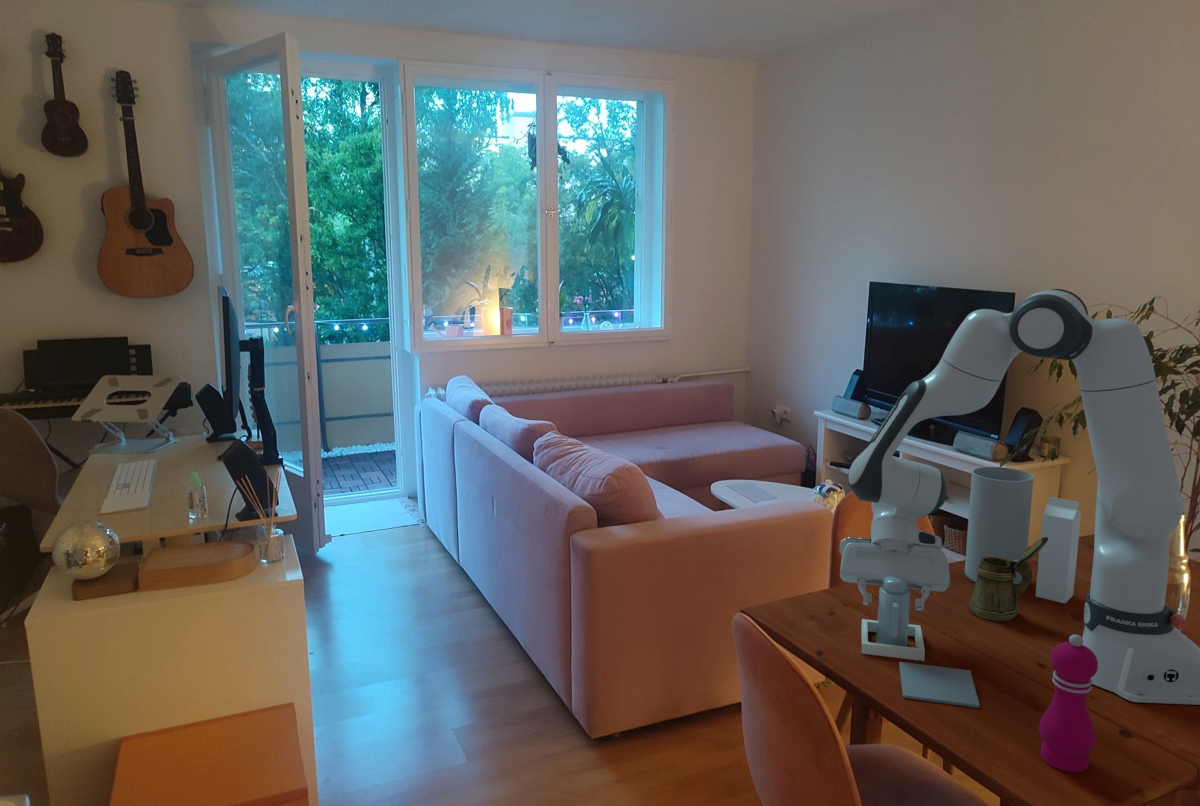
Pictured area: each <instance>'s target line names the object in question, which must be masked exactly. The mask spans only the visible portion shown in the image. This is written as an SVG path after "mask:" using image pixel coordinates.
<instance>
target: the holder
mask: <svg viewBox="0 0 1200 806" xmlns="http://www.w3.org/2000/svg"><path fill="white" fill-rule="evenodd" d="M877 622H878V620H874V619H866V618H865V619H864V618H862V619H861V654H863V655H872V656H877V657H878V656H880V657H888V658H895V659H896V658H897V659H902V660H903V659H904V660H913V661H919V660H921V662H925V653H926V650H925V644H924V640H923V631H922V628H921V627H922V626H921V625H919V624H909V623H908V637H914V640H915V641H916V642H915V647H914V646H907V647H906V646H898V645H889V644H881V643H876V642H871V641H869V638H868V637H869V635H868V632H871V633H872V632H873V633H877Z"/></svg>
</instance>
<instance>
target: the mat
mask: <svg viewBox="0 0 1200 806" xmlns="http://www.w3.org/2000/svg"><path fill="white" fill-rule="evenodd" d="M898 665H899V674H900V684H901V691H902V698H903V699H909V700H915V701H916V700H917V701H924V702H932V703H938V704H939V703H940V704H947V705H954V706H963V707H969V708H977V709H980V707H981V706H980V701H979V698H978V694H977V690H976V687H975V683H974V679H973V677H972V671H971V669H970V670H969V669H961V668H953V667H944V666H938V665H937V666H935V665H927V664H922V663H921V664H919V663H913V662H912V663H911V662H906V661H905V662H904V661H899V662H898Z"/></svg>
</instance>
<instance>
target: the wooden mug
mask: <svg viewBox="0 0 1200 806" xmlns="http://www.w3.org/2000/svg"><path fill="white" fill-rule="evenodd" d="M1040 538H1041V537H1040ZM1040 538H1039V539H1037V540H1036V541H1035V542H1034V543H1033V544H1032V545H1031V546H1030V547H1029V548H1027V551H1026V552H1025V553H1024V555H1023V556H1022V557H1021V559H1020V560H1011V562H1009V561H1008V560H1006V559H1003V558H998V557H983V558H981V561H980V564H979V565H978V568H977V573H978V575H977V580H976V582H975V585H974V588H973V589H974V590H973V595H972V598H971V599H970V602H969V606H968V611H969V613H971V614H973V615H975V616H976V617H978V618H981V619H983V620H986V621H987V620H988V621H993V622H994V621H995V622H1006V621H1011V620H1013V619H1015V618H1016V617H1017V615H1018V614H1019V613H1018V611H1019V610H1018V606H1017V605H1018V600H1019V598H1020V597H1021V595H1022V594H1023V593H1024V592H1025V590H1027V588H1028V587H1029V586H1030V585H1031V583H1032V579H1033V571H1032V568H1031V566H1030V564H1029V560H1031V559H1032V558H1033V557H1034V556H1035V555H1036V554H1037V553H1039V551H1040V550H1041V549H1042V547H1043V546H1044V545H1045V544H1046V542H1047V541H1048V538H1047V537H1044V538H1041V539H1040ZM1015 572H1019V573H1020V574H1021V576H1022V581H1021V582H1020V583H1019V584H1014V583H1013V579H1014V578H1016V574H1015Z"/></svg>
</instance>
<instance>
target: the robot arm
mask: <svg viewBox="0 0 1200 806" xmlns="http://www.w3.org/2000/svg"><path fill="white" fill-rule="evenodd" d="M1022 352H1023V354H1027V355H1029V356H1032V357H1036V358H1040V359H1051V360H1060V361H1072V363H1073V365H1074V367H1075V371H1076V374H1077V379H1078V386H1079V389H1080V395H1081V400H1082V405H1083V407H1082V408H1083V411H1084V418H1085V422H1086V428H1087V432H1088V437H1089V442H1090V446H1091V452H1092V456H1093V460H1094V461H1093V462H1094V465H1095V469H1096V475H1097V486H1096V487H1097V488H1096V499H1095V500H1096V502H1095V503H1096V505H1095V518H1094V520H1095V521H1094V547H1093V560H1092V569H1091V578H1090V589H1089V591H1088V592H1087V593H1086V601H1085V603H1084V608H1083V609H1084V611H1083V621H1084V629H1083V633H1082V636H1081V637H1082V639H1083V644H1082V645H1084V646H1086V647H1088V648H1089V649H1090V650H1092V651H1093V653H1094V654H1095V656H1096V658H1097V661H1098V669H1097V672H1096V674H1095V675H1094V676H1093V677H1091V680H1092V684H1091V685H1094V686H1096V687H1099V688H1102V689H1104V690H1108V691H1109V692H1112V693H1114V694H1117V696H1119V697H1121V698H1123V699H1125V700H1127V701H1130V702H1133V703H1142V704H1143V703H1144V704H1145V703H1147V704H1148V703H1149V704H1169V705H1170V704H1171V705H1174V704H1175V705H1194V706H1195V705H1198V706H1199V705H1200V647H1199V646H1198V645H1197V644H1196V643H1195V642H1194V641H1192V640H1191V639H1190V638H1189V637H1187V636H1186V635H1185V634H1183V633H1182V631H1180V630H1184V629H1185V628H1187V627H1188V626H1187V625H1188V621H1187V620H1186V619H1185V618H1184V616H1183V615H1181V614H1178V613H1177V612H1176V610H1174V609H1173V607H1170V606H1169V605H1168V604H1167V603H1166V602H1165V601H1166V595H1167V586H1168V579H1169V578H1168V576H1169V570H1170V569H1169V568H1170V553H1169V549H1170V546H1169V545H1170V543H1169V542H1170V541H1169V539H1170V535H1169V534H1171V533H1172V532H1173V531H1174V530H1175V529H1177V527H1178V526H1179V524H1180V522H1181V519H1182V516H1183V511H1184V502H1183V496H1182V492H1181V488H1180V487H1181V486H1180V482H1179V477H1178V474H1177V469H1176V464H1175V460H1174V457H1173V453H1172V448H1171V445H1170V442H1169V437H1168V432H1167V429H1166V425H1165V419H1164V415H1163V414H1164V413H1163V409H1162V403H1161V399H1160V398H1161V397H1160V392H1159V387H1158V382H1157V377H1156V372H1155V367H1154V364H1153V361H1152V360H1153V359H1152V357H1151V353H1150V351H1149V348H1148V345H1147V343H1146V340H1145V337H1144V336H1143V333H1142V331H1141V329H1140V327H1139V326H1138V325H1137V324H1135V323H1134V322H1132V321H1130V320H1128V319H1123V318H1117V317H1116V318H1115V317H1113V318H1112V317H1111V318H1104V319H1095V318H1092V317H1091V316H1090V315H1089V311H1088V308H1087V306H1086V304H1085V302H1084V301H1083V300H1082V298H1081V297H1080V296H1078V295H1077V294H1075V293H1073V292H1072V291H1069V290H1065V289H1061V288H1052V289H1046V290H1040V291H1038V292H1035V293H1033V294H1032V293H1031V295H1029V296H1027V297H1026V298H1025V299H1024V300H1022V301H1021V302H1020V303H1019V304H1018V305H1016V307H1015V308H1014V309H1013V310H1012V312H1008V313H1007V312H1003V311H999V310H995V309H989V308H982V309H981V308H980V309H975V310H973V311H972V312H970V313H968V315H966V317H965V318H964V320H962V322H961V323H960V325H959V327H958V328H957V330H956V331H955V332H954V334H953V336H952V337H951V339H950V340H949V343H948V344H947V346H946V348H945V350H944V352H943V354H942V356H941V358H940V360H939V362H938V364H937V365H936V366H935V367H934V369H932V371H931V372H930V373H928V374H927V375H926V376H924V377H923V378H921V379H919V380H915V381H912V382H911V383H910V384H909V385H908V386H907V387H906V389H905V390H904V391H903V392H902V393H901V395H900V396H899V397H898V398H897V400H896V402H895V403H894V405H893V406H892V407H891V409H890V410H889V412H888V413H887V414H886V417H885V418H884V419H883V421H882V422H881V424H880V425H879V427H878V428H877V430H876V431H875V432H874V435H873V436H872V437H871V439H870V440H869V441H868V443H867V444H866V446H864V448H863V449H862V450H861V451H860V452H859V453H858V454H857V455H856V457H855V458H854V460H853V461H852V463H851V465H850V467H849V470H848V473H847V483H848V486H849V487H850V490H851V491H852V493H853V494H854V495H855V497H857V498H858V500H860V501H862V502H863V501H864V502H871V510H872V514H873V517H872V520H871V523H870V537H869V538H868V537H854V536H848V537H847V538H844V539H842V540H841V541H840V543H839V548H838V551H839V554H840V556H841V561H840V569H839V577H840V579H841V580H842V581H843V582H845V583H855V584H857V589H858V590H859V592H860V593H861V595H862V597H863V603H862V604H863V605H866V606H867V605H868V606H872V603H873V601H872V598H873V594H872V593H869V592H868V591H867V589H866V585H875V586H883V585H884V578H885V577H889V576H895V577H900V578H903V579H905V580H906V581H907V589H913V590H921V595H922V596H921V597H920V598H918V597H917V598H915V602H914V605H915V606H914V611H924V609H925V602H926V600H927V598H928V597H929V595H930V593H931V591H933V592H942V593H943V592H945V591H946V590H948V588H949V587H950V584H951V583H950V582H951V580H950V579H951V577H950V576H951V574H950V569H949V568H950V567H949V562H948V558H947V555H946V553H945V552H944V551H943V550H942V547H943V545H942V544H943V542H942V538H941V536H939V535H936V534H933V533H931V532H928V531H925V530H922V529H921V528H918V526H917V520H918V519H919V518H924V517H926V516H929V515H930V514H932V513H934V512H936V511H938V510H939V509H940V508H941V507H942V506H943V505H944V504H945V502H946V498H947V492H948V490H947V487H948V485H947V482H946V478H945V476H944V474H943V472H942V470H941V469H939V468H937V467H935V466H932V465H929V464H926V463H922V462H918V461H914V460H913V461H912V460H908V459H904V458H902V457H898V456H894V454H895V452H896V451H897V450H898V448H899V447H900V445H901V443H902V442H903V441H904V439H905V438H906V436H907V435H908V433H910V431H911V429H912V428H913V427H914V426H915V425H917V424H918V423H919V422H922V421H924V420H928V419H931V418H936V417H938V418H939V417H943V416H944V417H945V416H946V417H947V416H961V415H967V414H971V413H974V412H977V411H978V410H980V409H982V408H984V407H986V406H987V405H988V404H989V403H990V402H991V400H992V399H993V398H994V396H995V395H996V393H997V391H998V390H999V388H1000V385H1001V383H1002V381H1003V378H1004V377H1005V374H1006V373H1007V370H1008V369H1009V367H1010V364H1011V363H1012V362H1013V360H1014V358H1016V356H1018V355H1019V354H1021V353H1022Z"/></svg>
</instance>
